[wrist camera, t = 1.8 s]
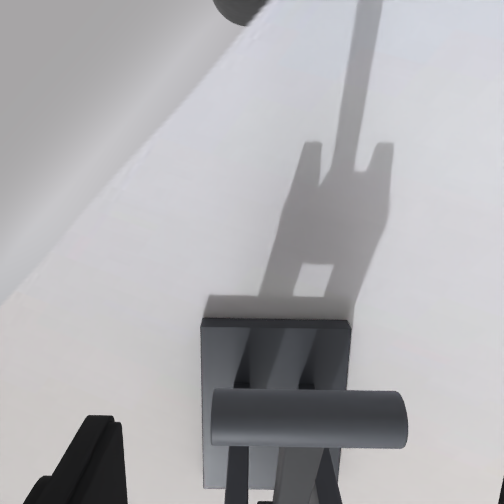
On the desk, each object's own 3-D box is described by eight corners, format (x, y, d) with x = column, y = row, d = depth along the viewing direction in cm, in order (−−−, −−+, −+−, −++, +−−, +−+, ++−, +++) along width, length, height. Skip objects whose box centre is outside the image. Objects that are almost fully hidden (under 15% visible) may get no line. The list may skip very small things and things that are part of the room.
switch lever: (214, 362, 12) (207, 449, 10) (394, 365, 12) (419, 452, 10) (226, 521, 21) (223, 583, 19) (331, 523, 21) (338, 585, 19)
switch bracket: (202, 317, 27) (165, 458, 15) (347, 319, 27) (416, 462, 15) (205, 474, 30) (176, 685, 19) (333, 477, 30) (382, 688, 19)
